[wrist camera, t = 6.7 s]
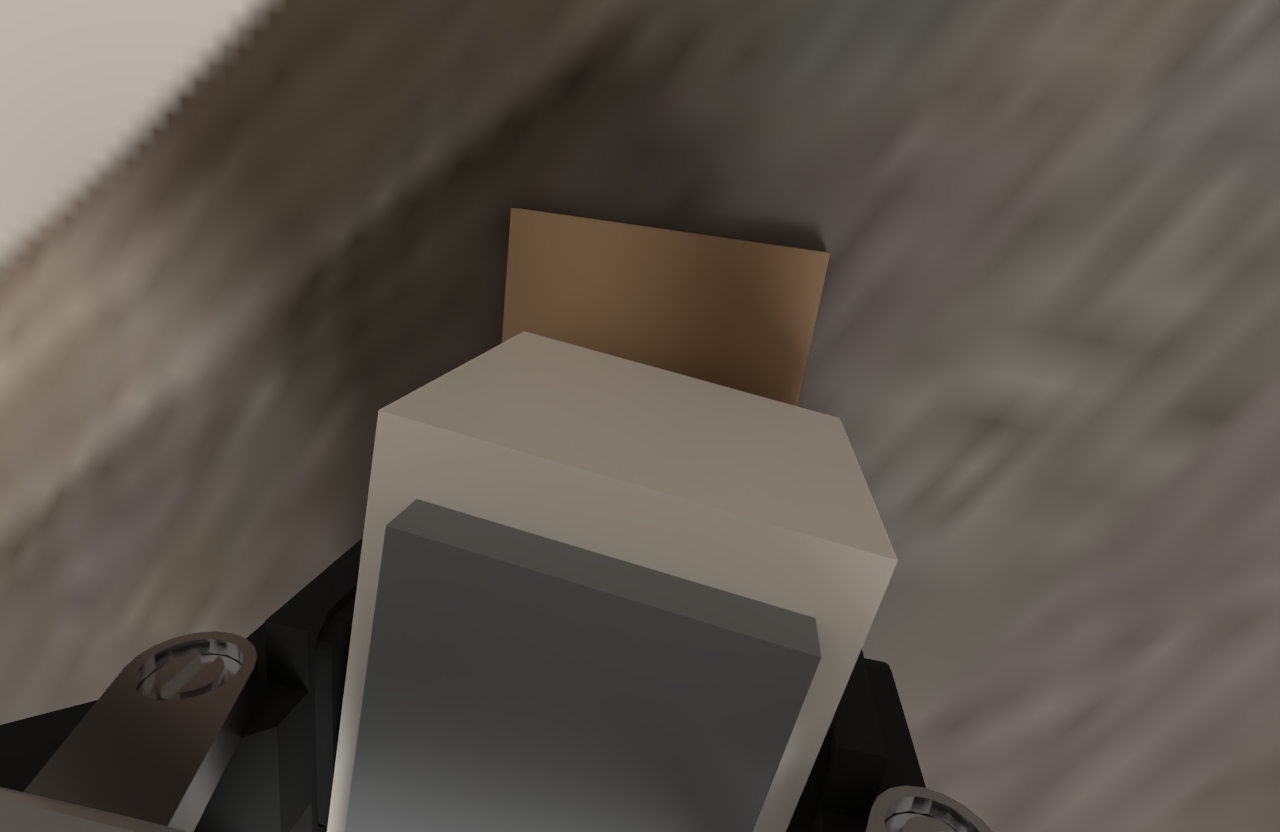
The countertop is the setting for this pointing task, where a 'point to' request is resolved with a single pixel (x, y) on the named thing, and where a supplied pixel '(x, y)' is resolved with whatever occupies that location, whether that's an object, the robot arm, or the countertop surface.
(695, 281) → the strip
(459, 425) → the white and grey block
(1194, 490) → the countertop surface
